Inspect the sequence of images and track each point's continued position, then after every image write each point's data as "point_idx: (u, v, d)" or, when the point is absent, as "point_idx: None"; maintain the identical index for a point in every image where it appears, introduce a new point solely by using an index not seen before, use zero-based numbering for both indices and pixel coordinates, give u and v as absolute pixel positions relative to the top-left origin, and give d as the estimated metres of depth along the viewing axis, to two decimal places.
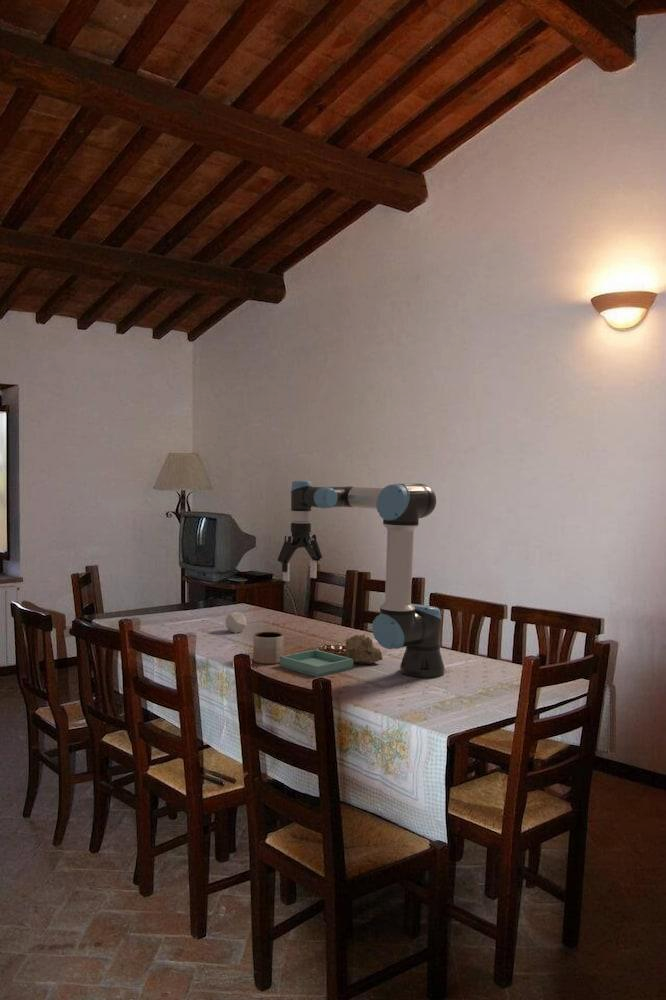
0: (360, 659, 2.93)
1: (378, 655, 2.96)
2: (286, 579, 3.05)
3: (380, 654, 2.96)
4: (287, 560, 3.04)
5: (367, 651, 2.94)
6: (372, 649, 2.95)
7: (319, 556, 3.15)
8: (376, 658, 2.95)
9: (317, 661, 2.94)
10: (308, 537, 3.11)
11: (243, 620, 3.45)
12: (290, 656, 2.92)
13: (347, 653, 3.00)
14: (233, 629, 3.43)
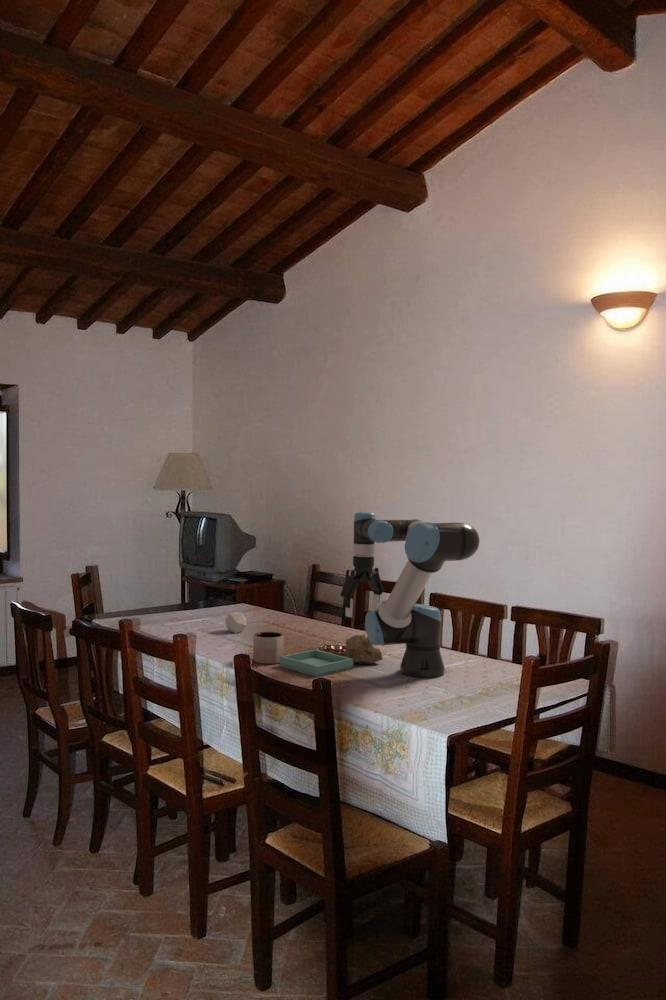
0: (360, 659, 2.93)
1: (378, 655, 2.96)
2: (349, 615, 2.94)
3: (380, 654, 2.96)
4: (350, 595, 2.93)
5: (367, 651, 2.94)
6: (372, 649, 2.95)
7: (381, 590, 3.04)
8: (376, 658, 2.95)
9: (317, 661, 2.94)
10: (371, 571, 3.00)
11: (243, 620, 3.45)
12: (290, 656, 2.92)
13: (347, 653, 3.00)
14: (233, 629, 3.43)
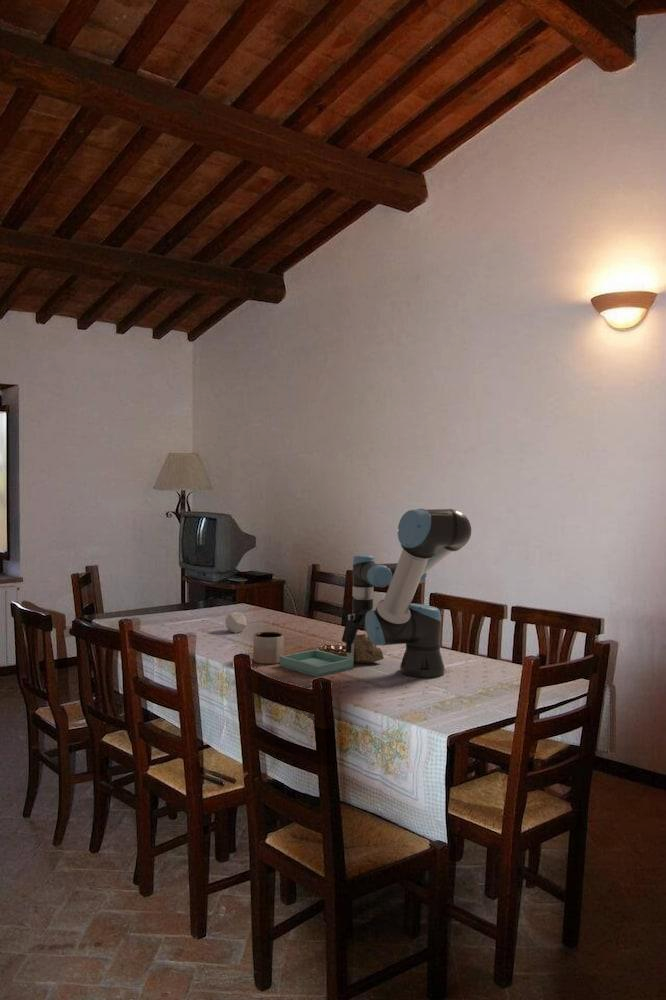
0: (361, 658, 2.94)
1: (379, 654, 2.96)
2: None
3: (381, 653, 2.97)
4: (351, 640, 2.94)
5: (368, 650, 2.95)
6: (373, 648, 2.96)
7: None
8: (377, 657, 2.96)
9: (317, 661, 2.94)
10: None
11: (243, 620, 3.45)
12: (290, 656, 2.92)
13: None
14: (233, 629, 3.43)
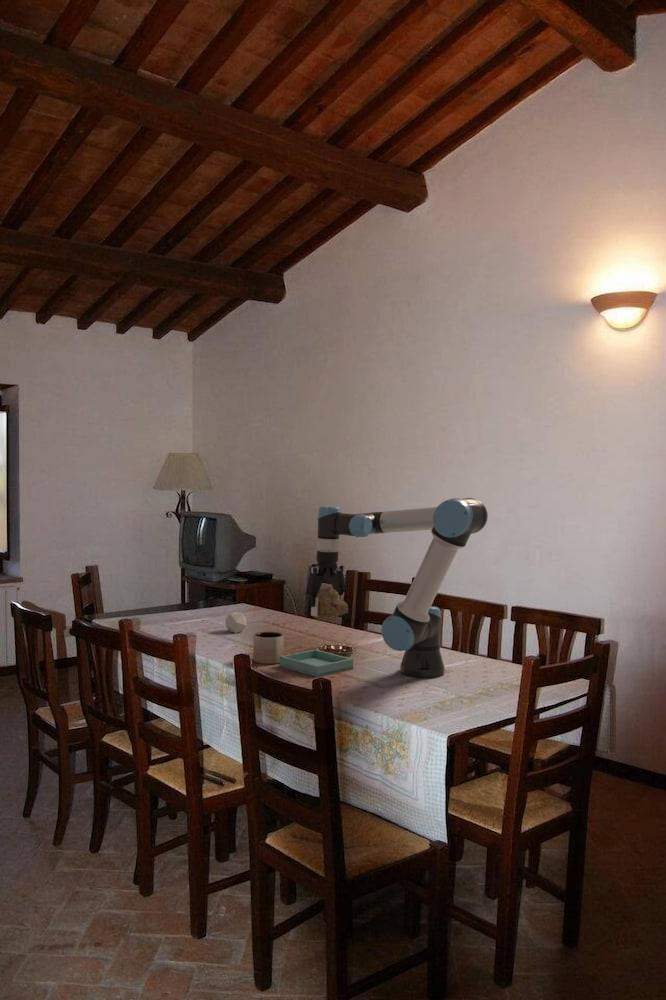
0: (325, 611, 2.86)
1: (344, 608, 2.89)
2: (314, 614, 2.88)
3: (346, 607, 2.89)
4: (315, 594, 2.86)
5: (332, 603, 2.87)
6: (338, 602, 2.88)
7: (342, 590, 2.95)
8: (342, 611, 2.88)
9: (317, 661, 2.94)
10: (335, 566, 2.92)
11: (243, 620, 3.45)
12: (290, 656, 2.92)
13: None
14: (233, 629, 3.43)
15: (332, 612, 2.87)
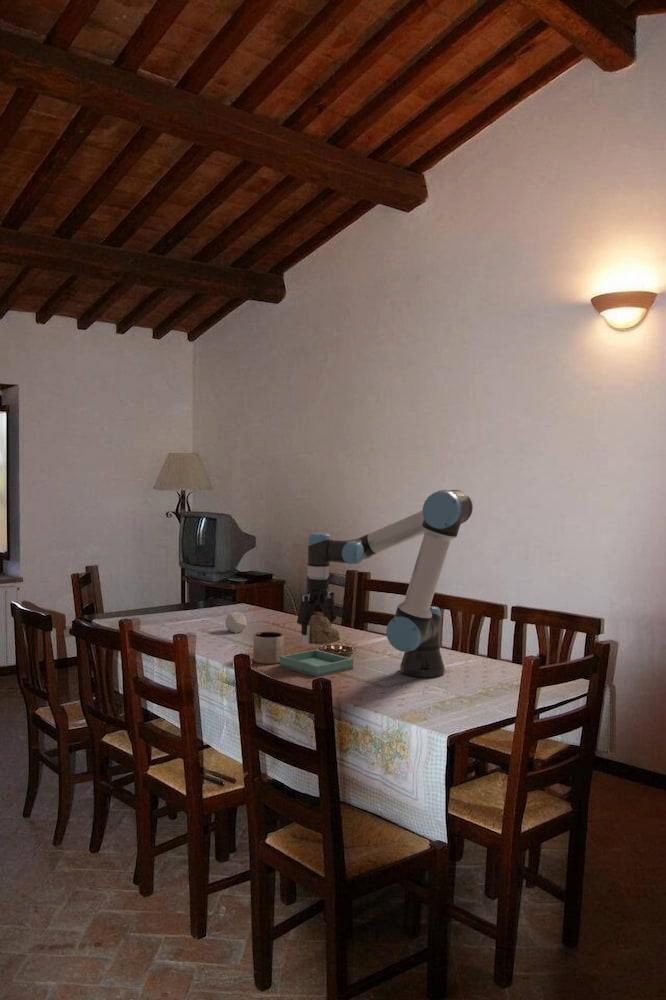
0: (317, 639, 2.84)
1: (335, 635, 2.87)
2: (306, 642, 2.85)
3: (337, 634, 2.88)
4: (307, 622, 2.84)
5: (324, 631, 2.85)
6: (329, 629, 2.86)
7: (333, 616, 2.93)
8: (333, 638, 2.86)
9: (317, 661, 2.94)
10: (326, 593, 2.90)
11: (243, 620, 3.45)
12: (290, 656, 2.92)
13: None
14: (233, 629, 3.43)
15: (324, 640, 2.85)
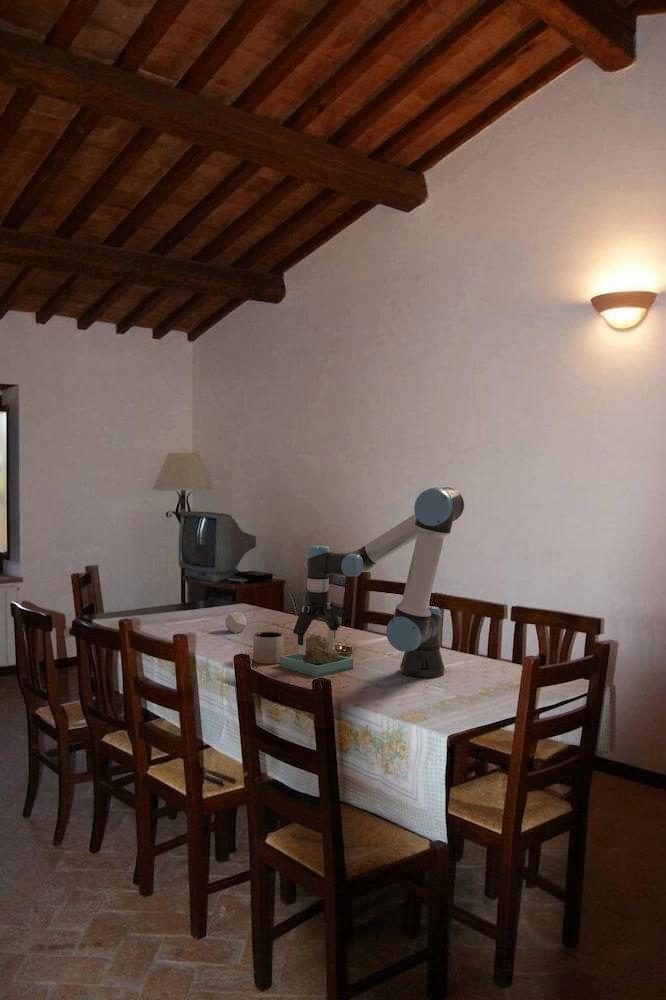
0: (317, 661, 2.84)
1: (335, 656, 2.87)
2: (302, 652, 2.84)
3: (337, 655, 2.88)
4: (303, 632, 2.83)
5: (323, 652, 2.85)
6: (329, 650, 2.86)
7: (337, 625, 2.94)
8: (333, 659, 2.87)
9: None
10: (325, 606, 2.90)
11: (243, 620, 3.45)
12: (290, 656, 2.92)
13: (302, 655, 2.90)
14: (233, 629, 3.43)
15: (323, 661, 2.85)
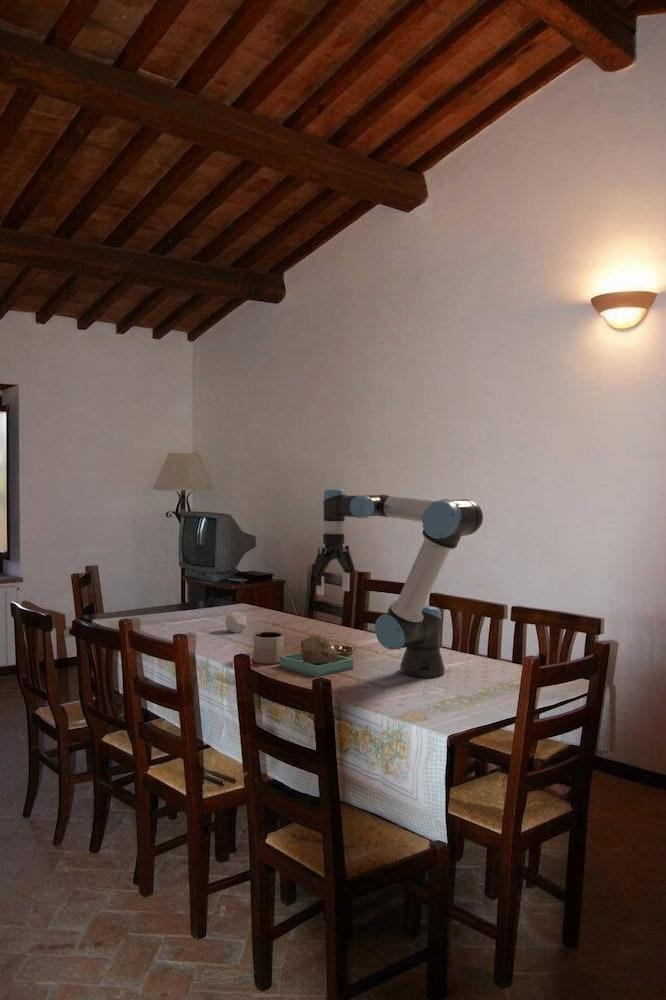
0: (317, 661, 2.84)
1: (335, 656, 2.87)
2: (320, 593, 2.90)
3: (337, 655, 2.88)
4: (321, 573, 2.89)
5: (323, 652, 2.85)
6: (329, 650, 2.86)
7: (352, 568, 3.01)
8: (333, 659, 2.87)
9: None
10: (341, 548, 2.96)
11: (243, 620, 3.45)
12: (290, 656, 2.92)
13: (302, 655, 2.90)
14: (233, 629, 3.43)
15: (323, 661, 2.85)
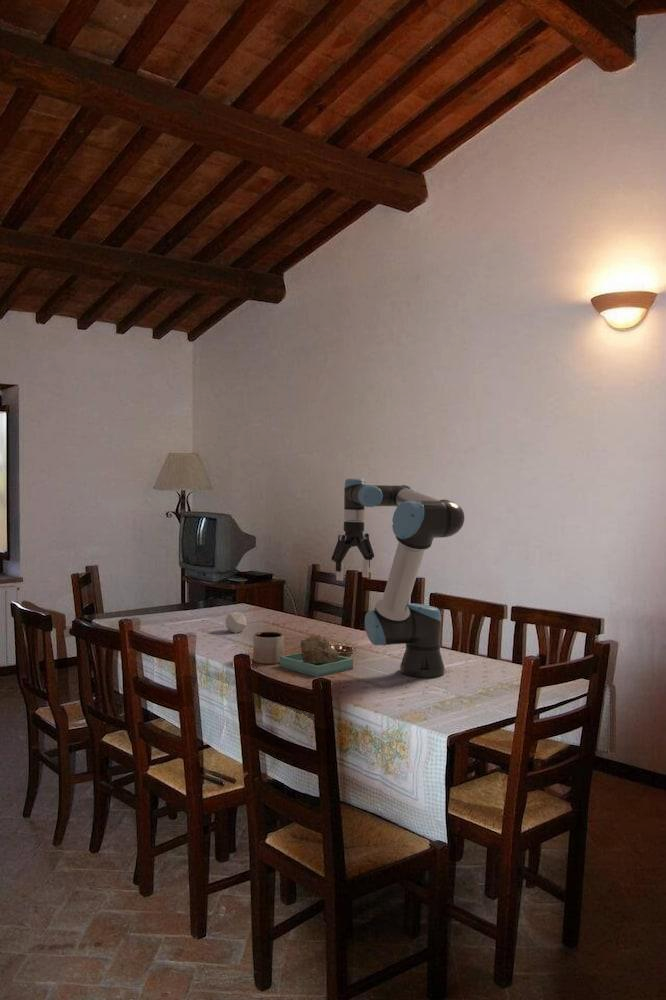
0: (317, 661, 2.84)
1: (335, 656, 2.87)
2: (340, 578, 3.01)
3: (337, 655, 2.88)
4: (341, 559, 3.00)
5: (323, 652, 2.85)
6: (329, 650, 2.86)
7: (371, 555, 3.11)
8: (333, 659, 2.87)
9: None
10: (361, 536, 3.07)
11: (243, 620, 3.45)
12: (290, 656, 2.92)
13: (302, 655, 2.90)
14: (233, 629, 3.43)
15: (323, 661, 2.85)
